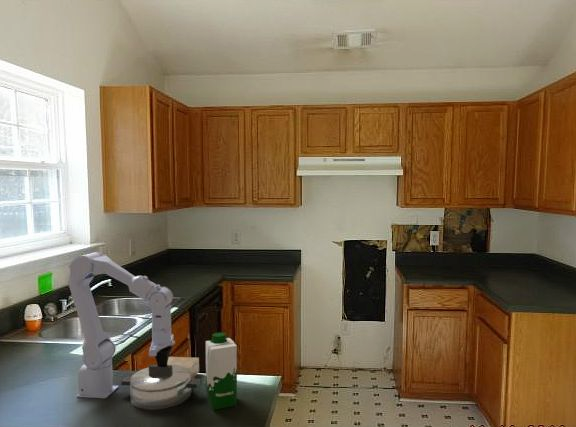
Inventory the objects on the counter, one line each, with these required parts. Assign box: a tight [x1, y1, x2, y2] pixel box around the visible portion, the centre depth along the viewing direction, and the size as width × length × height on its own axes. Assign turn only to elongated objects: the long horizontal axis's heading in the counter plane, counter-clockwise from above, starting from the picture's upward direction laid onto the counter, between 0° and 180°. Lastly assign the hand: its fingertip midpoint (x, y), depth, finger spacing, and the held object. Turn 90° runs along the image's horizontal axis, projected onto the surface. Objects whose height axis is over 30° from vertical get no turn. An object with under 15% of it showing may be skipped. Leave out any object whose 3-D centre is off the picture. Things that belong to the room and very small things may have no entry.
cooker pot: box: [120, 356, 202, 410], centre depth 137 cm, size 24×28×5 cm
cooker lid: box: [131, 364, 190, 392], centre depth 132 cm, size 18×18×4 cm
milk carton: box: [205, 332, 238, 411], centre depth 127 cm, size 9×9×20 cm
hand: (162, 370), depth 133 cm, fingers closed
